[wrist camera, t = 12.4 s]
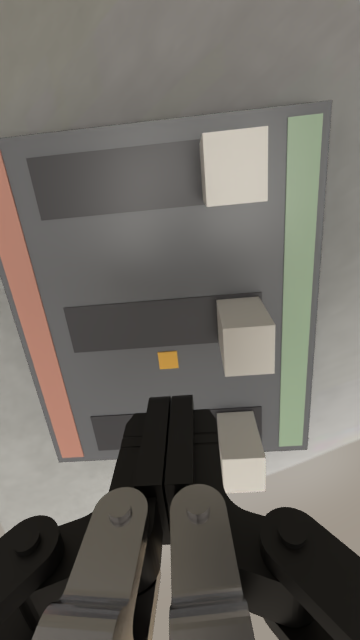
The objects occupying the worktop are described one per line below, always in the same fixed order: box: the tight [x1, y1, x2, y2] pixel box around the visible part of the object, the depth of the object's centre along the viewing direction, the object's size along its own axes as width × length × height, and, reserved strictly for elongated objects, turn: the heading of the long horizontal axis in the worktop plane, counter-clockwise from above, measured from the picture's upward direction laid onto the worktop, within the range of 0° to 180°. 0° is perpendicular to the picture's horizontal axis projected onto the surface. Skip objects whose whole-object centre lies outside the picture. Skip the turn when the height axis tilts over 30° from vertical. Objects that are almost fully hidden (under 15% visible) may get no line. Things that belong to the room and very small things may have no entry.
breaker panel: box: [0, 100, 332, 462], centre depth 21 cm, size 21×18×3 cm
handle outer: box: [217, 411, 266, 493], centre depth 21 cm, size 3×2×4 cm
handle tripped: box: [216, 296, 275, 377], centre depth 18 cm, size 3×2×4 cm
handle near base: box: [199, 126, 268, 207], centre depth 14 cm, size 3×2×4 cm
